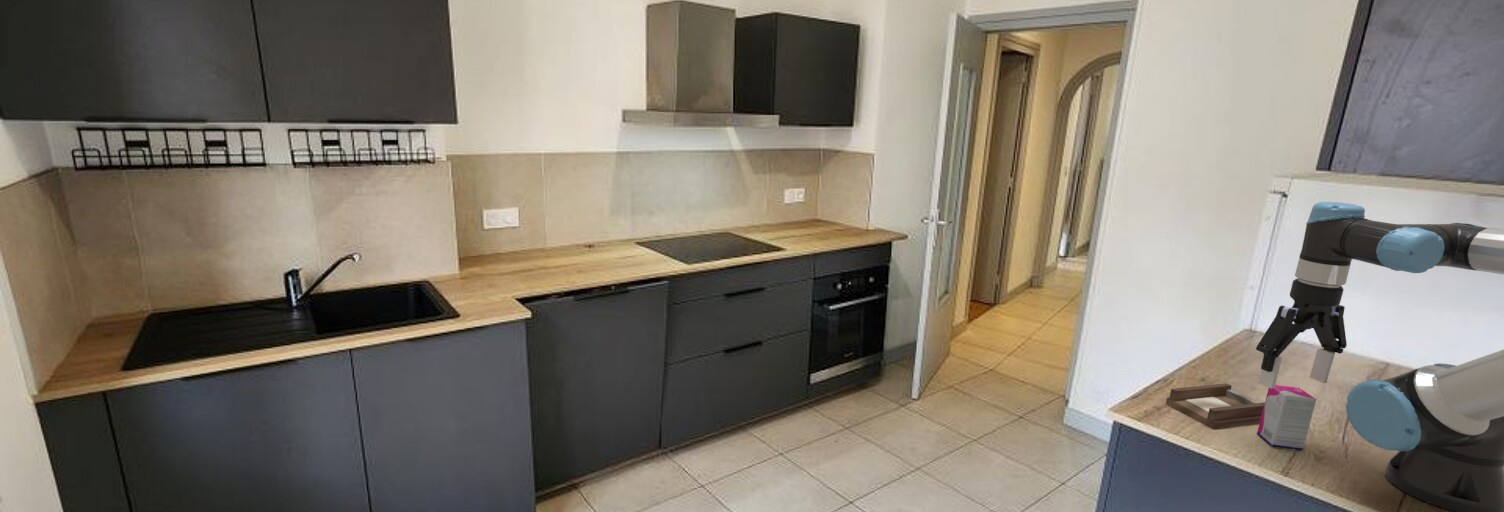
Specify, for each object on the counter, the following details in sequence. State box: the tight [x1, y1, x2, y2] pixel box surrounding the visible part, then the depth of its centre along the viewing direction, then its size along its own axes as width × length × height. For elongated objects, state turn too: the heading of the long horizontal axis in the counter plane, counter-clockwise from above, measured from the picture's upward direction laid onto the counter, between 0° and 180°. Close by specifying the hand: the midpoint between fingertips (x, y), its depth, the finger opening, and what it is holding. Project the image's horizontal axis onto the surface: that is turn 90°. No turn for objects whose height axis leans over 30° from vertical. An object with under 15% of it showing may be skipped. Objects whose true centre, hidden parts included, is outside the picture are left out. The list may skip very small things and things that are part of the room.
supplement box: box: [1256, 384, 1317, 451], centre depth 131 cm, size 6×6×12 cm
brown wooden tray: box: [1165, 383, 1265, 430], centre depth 144 cm, size 12×16×4 cm
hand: (1292, 383), depth 129 cm, fingers open, 13 cm apart
